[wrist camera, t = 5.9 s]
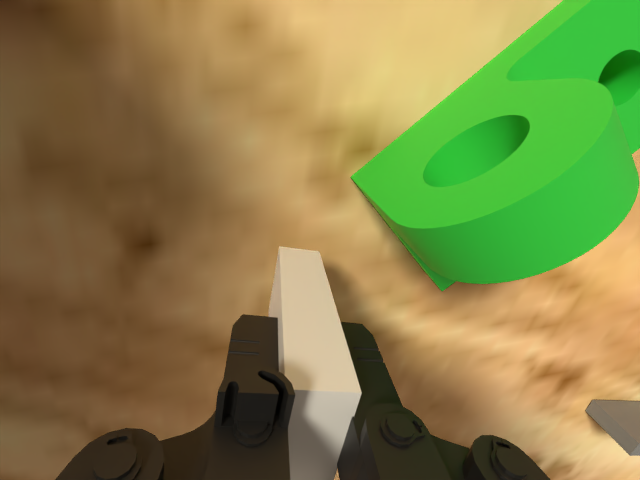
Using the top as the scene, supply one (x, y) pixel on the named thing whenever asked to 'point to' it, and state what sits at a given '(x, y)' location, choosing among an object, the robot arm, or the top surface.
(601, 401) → the dock
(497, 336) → the top surface
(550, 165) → the mechanical part
